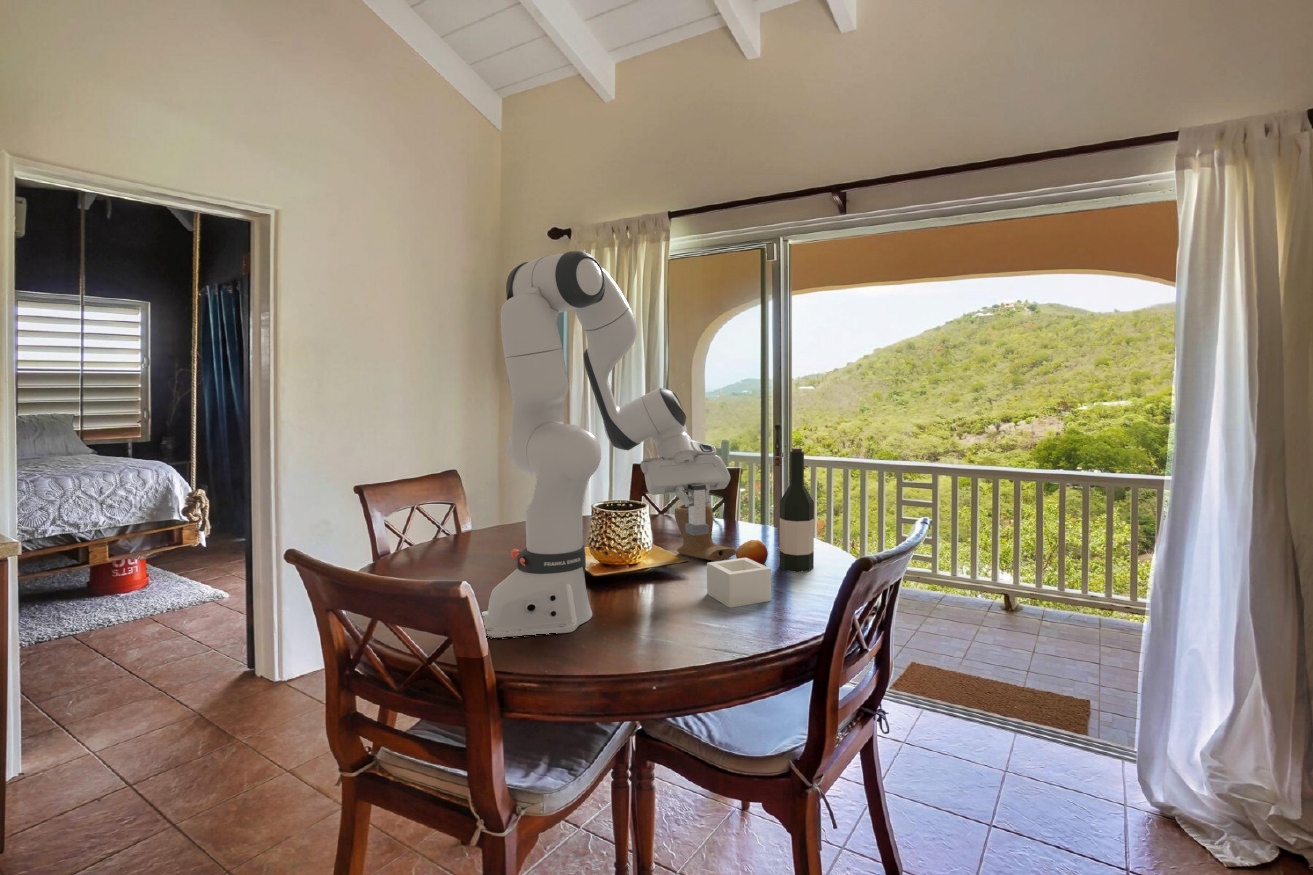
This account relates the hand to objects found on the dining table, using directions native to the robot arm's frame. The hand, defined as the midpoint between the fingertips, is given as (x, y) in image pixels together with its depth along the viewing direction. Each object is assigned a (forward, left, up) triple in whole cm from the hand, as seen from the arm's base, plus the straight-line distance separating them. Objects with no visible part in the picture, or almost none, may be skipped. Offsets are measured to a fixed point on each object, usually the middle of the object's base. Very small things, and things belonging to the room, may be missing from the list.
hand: (698, 504), depth 148 cm
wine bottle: (+30, +5, -20) cm, 36 cm away
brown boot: (+13, +24, -20) cm, 34 cm away
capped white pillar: (0, +1, -7) cm, 7 cm away
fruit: (+20, +10, -20) cm, 30 cm away
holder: (+5, -9, -19) cm, 22 cm away
